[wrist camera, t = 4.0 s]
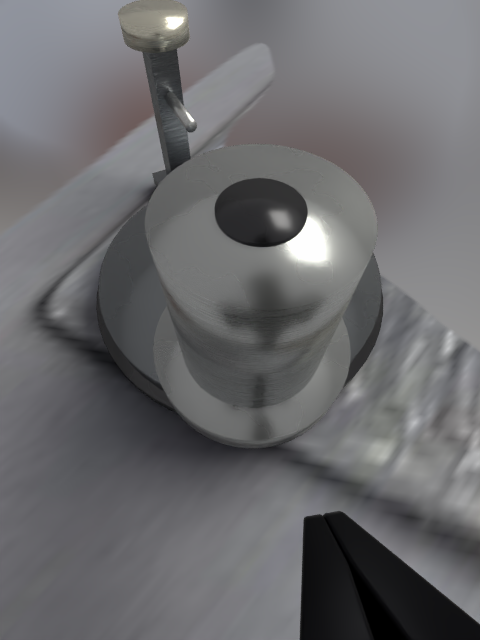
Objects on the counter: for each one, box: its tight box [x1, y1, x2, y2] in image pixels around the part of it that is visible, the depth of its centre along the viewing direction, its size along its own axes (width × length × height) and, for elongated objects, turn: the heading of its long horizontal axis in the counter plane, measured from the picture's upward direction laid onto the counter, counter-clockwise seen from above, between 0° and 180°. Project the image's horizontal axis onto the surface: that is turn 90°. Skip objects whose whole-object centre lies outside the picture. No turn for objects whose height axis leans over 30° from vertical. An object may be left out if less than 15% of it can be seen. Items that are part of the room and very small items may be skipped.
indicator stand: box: [118, 0, 197, 187], centre depth 20 cm, size 5×3×10 cm, turn 26°
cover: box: [145, 144, 378, 448], centre depth 13 cm, size 8×8×9 cm
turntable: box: [97, 205, 383, 412], centre depth 20 cm, size 16×16×2 cm
